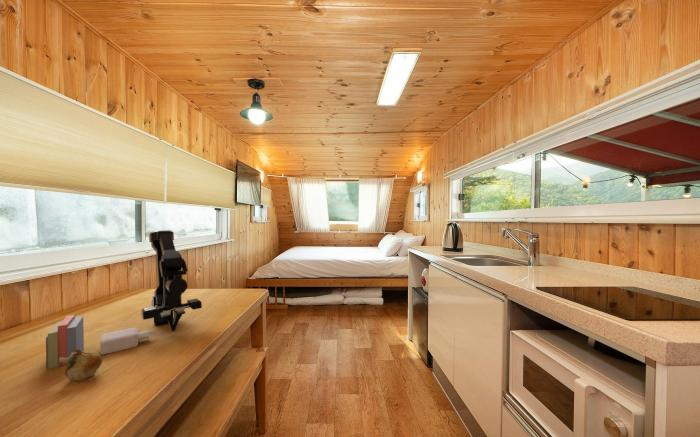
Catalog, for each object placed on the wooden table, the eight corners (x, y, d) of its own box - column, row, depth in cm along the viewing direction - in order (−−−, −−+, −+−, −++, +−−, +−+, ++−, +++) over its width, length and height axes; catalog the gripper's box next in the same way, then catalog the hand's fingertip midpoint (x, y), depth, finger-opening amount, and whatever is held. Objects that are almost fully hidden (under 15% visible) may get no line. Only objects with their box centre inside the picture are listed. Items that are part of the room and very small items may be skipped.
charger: (156, 343, 99) (100, 356, 90) (155, 334, 106) (102, 346, 97) (156, 329, 99) (100, 341, 90) (155, 322, 106) (102, 332, 97)
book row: (83, 348, 96) (83, 313, 96) (76, 362, 86) (75, 323, 86) (56, 353, 92) (55, 317, 92) (45, 369, 82) (44, 328, 82)
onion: (76, 388, 72) (76, 357, 72) (56, 383, 75) (56, 353, 75) (109, 372, 80) (108, 344, 80) (90, 368, 82) (89, 341, 82)
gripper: (194, 282, 118) (194, 319, 118) (139, 290, 105) (139, 331, 105) (201, 286, 110) (202, 326, 110) (143, 296, 97) (143, 341, 97)
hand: (173, 330), depth 106 cm, fingers closed
